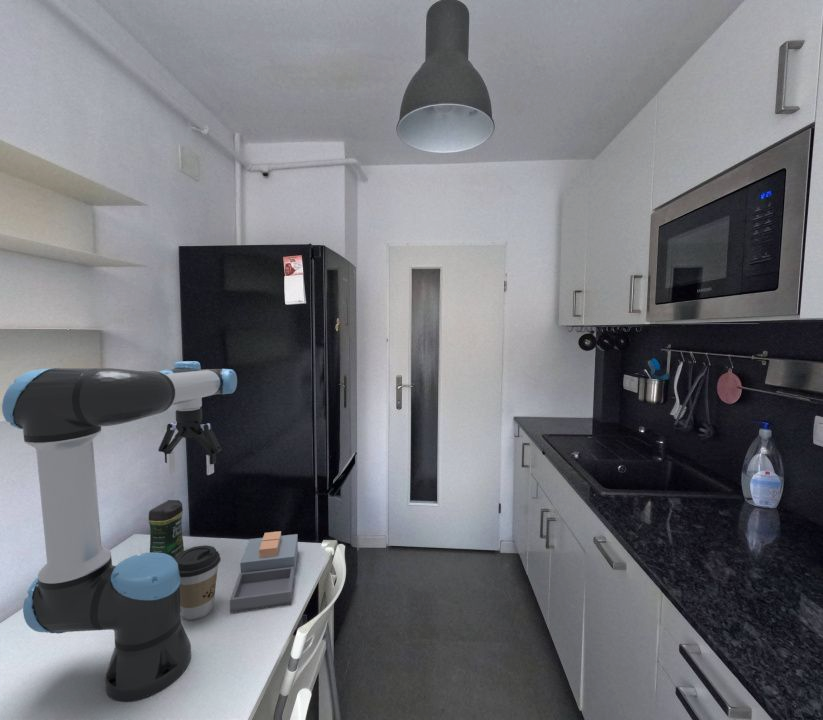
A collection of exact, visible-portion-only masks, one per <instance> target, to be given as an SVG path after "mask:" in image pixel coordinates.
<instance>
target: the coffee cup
mask: <svg viewBox="0 0 823 720" xmlns="http://www.w3.org/2000/svg"><path fill="white" fill-rule="evenodd" d="M175 561H176V562H177V564H178V569H179V575H180V613H181V614H180V615H182V616H181V617H182V618H183V619H184V620H186V621H195V620H198V619H201V618H203V617H205V616H207V615H208V614H210V613H211V612H212V610H213V607H214V604H215V596H216V595H215V594H216V588H217V587H216V586H217V578H218V577H217V576H218V570H219V569H218V567H219V564H220V562H221V554H220V553H219V551H218V550H217V549H216V547H214V546H211V545H197V546H193V547H189V548H187V549H184V551H183V552H182V553H180V554H179V555H178V556H177V557H176V559H175Z"/></svg>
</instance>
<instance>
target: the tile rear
mask: <svg viewBox="0 0 823 720" xmlns="http://www.w3.org/2000/svg"><path fill="white" fill-rule="evenodd" d="M281 536H282V531H281V530H280V531H270V532H264V535H263V537H262V538H263V540H262V541H270V540H279V546H280V541H281Z"/></svg>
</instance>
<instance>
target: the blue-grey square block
mask: <svg viewBox="0 0 823 720" xmlns="http://www.w3.org/2000/svg"><path fill="white" fill-rule="evenodd" d="M248 539H249V538H248ZM262 540H263V537H257V538H250V539H249V540H248V542H247V545H246V547H245V550H244V553H243V555H242V557H241V560H240V562H239V563H240V564H239V565H240V568H239V569H240V571H239V572H240V573H246V572H255V571H263V570H271V569H279V568H287V567H294V577H295V576H296V570H297V560H298V554H299V553H298V552H299V550H298V549H299V541H298V540H299V538H298V533H294V534H287V535H285V534H284V535H281V541H280V546H279V550H278V555H277V556H272V557H264V558H259V549H260V546H261V543H262Z"/></svg>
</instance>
